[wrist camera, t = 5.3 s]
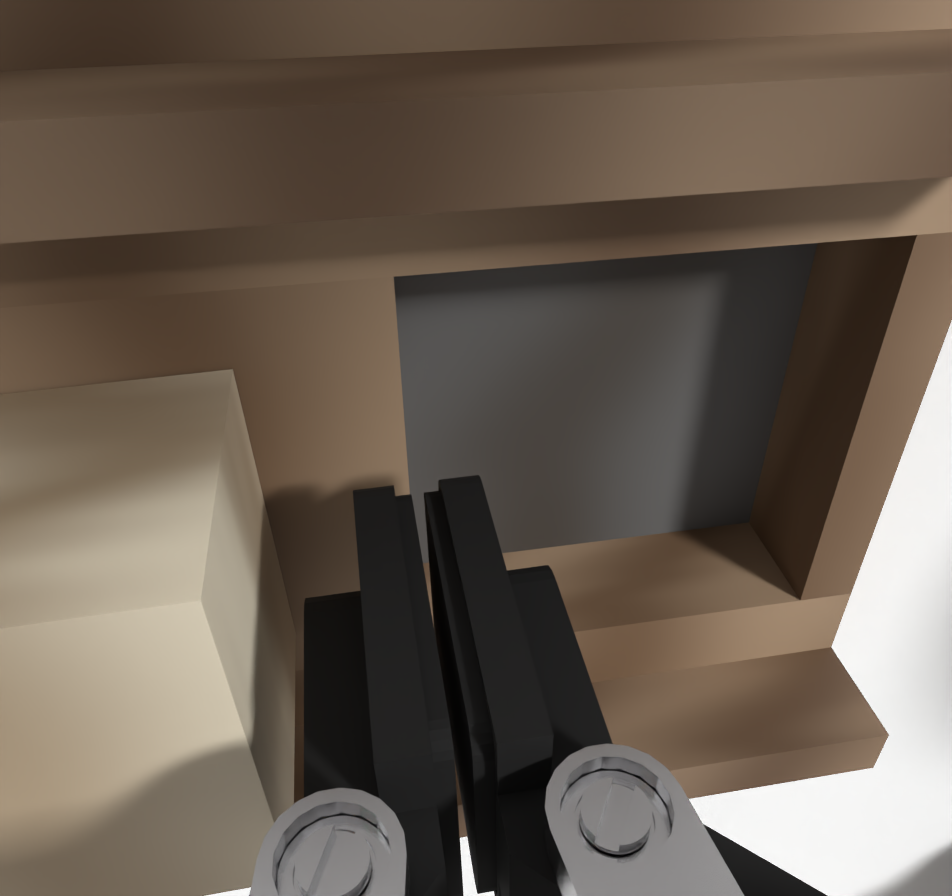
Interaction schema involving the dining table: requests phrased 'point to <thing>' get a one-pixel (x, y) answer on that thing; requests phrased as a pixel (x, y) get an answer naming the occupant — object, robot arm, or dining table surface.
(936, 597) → the dining table surface
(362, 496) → the robot arm
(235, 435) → the block
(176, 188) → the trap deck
